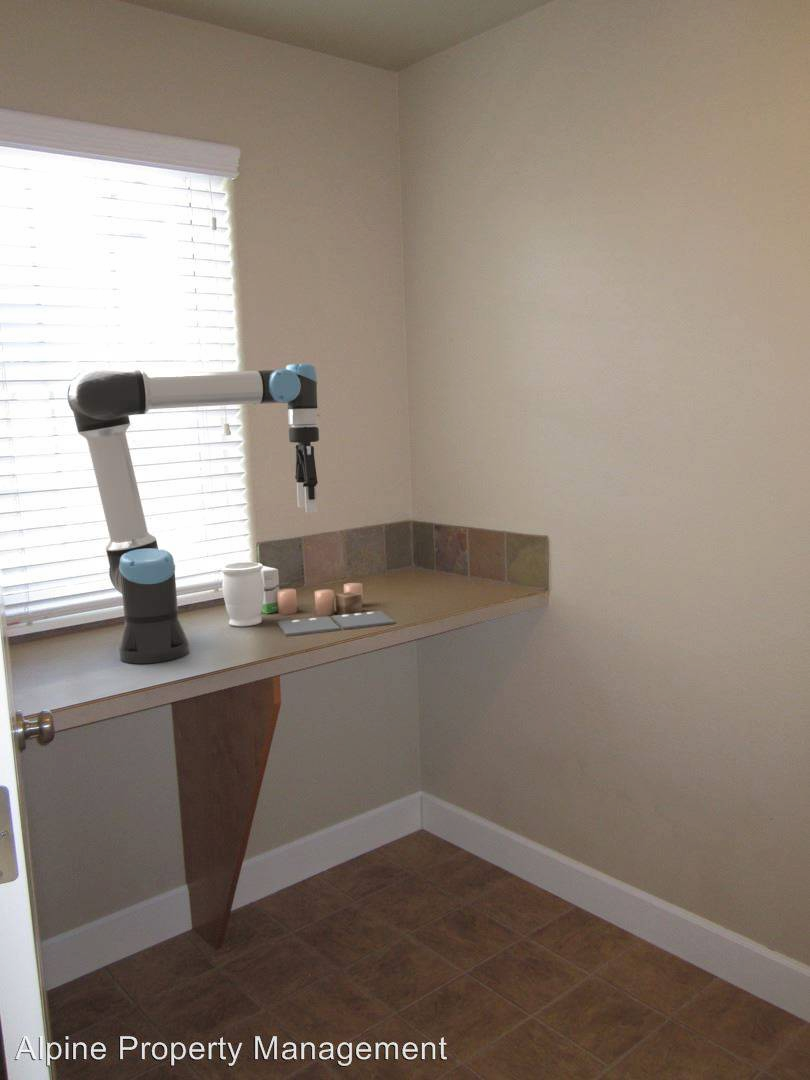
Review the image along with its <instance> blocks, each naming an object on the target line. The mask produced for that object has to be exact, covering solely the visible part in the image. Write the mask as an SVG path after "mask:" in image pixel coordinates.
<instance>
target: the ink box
mask: <svg viewBox="0 0 810 1080" xmlns="http://www.w3.org/2000/svg"><path fill="white" fill-rule="evenodd" d="M261 574H262V577H263V583H264V598H263V607H262V611H261V613H262V614H266V615H269V614H271V613H272V614H273V613H278V600H277V591H278V590H280V580H279V579H280V577H279V569H278V568H275V567H271V566H265V565H262V569H261Z"/></svg>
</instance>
